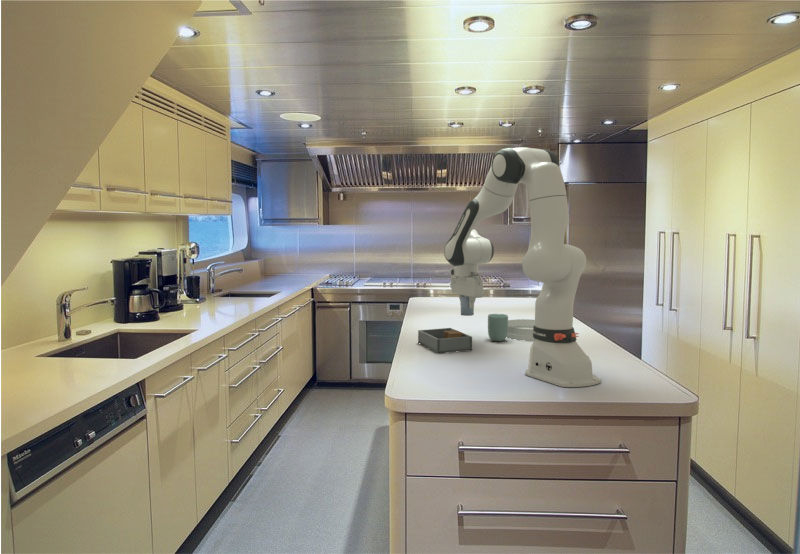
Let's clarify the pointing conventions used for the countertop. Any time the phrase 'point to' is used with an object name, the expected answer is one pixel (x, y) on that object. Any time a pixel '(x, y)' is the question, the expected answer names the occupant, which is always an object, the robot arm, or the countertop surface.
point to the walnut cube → (452, 334)
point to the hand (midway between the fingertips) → (467, 307)
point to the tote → (443, 341)
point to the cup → (497, 327)
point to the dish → (521, 329)
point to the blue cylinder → (466, 306)
